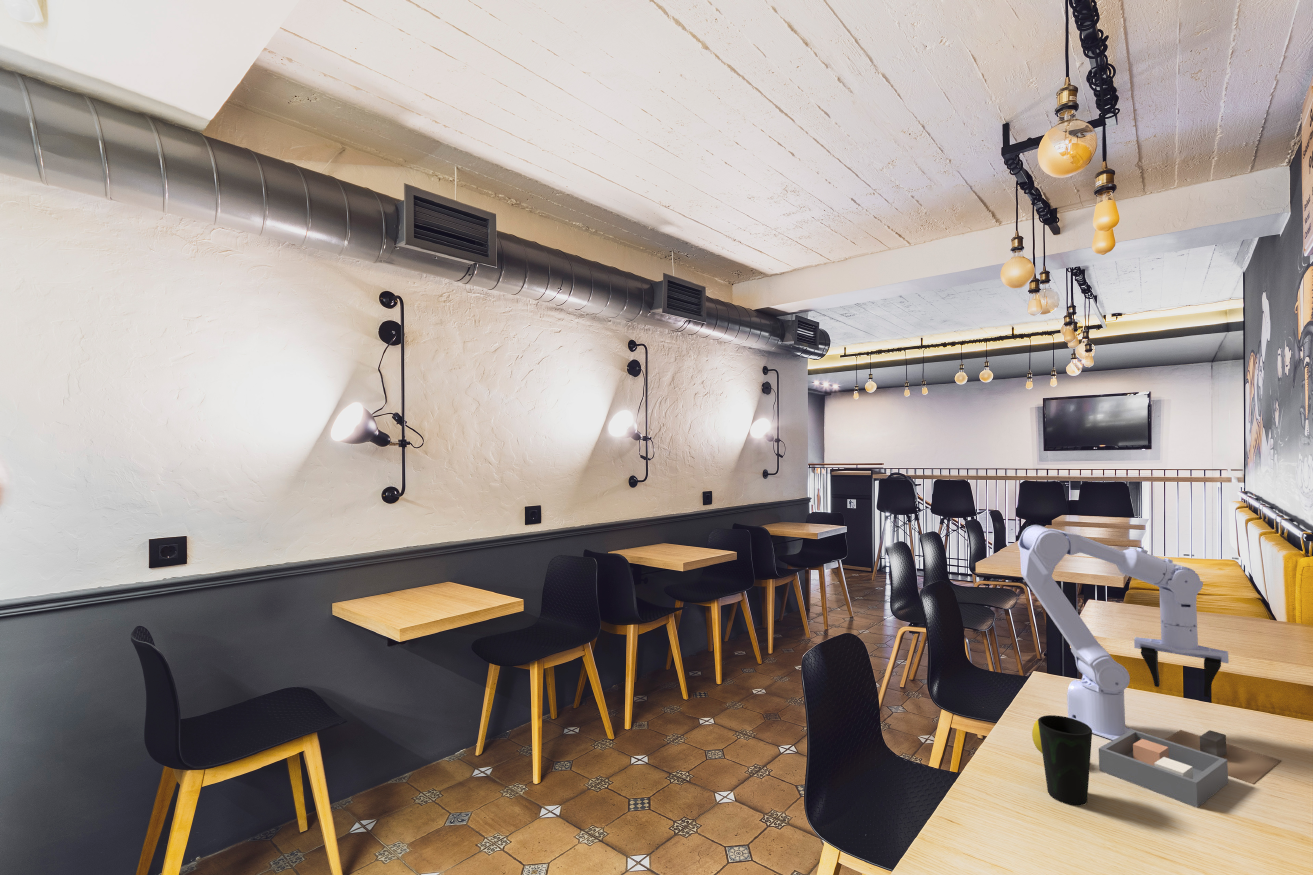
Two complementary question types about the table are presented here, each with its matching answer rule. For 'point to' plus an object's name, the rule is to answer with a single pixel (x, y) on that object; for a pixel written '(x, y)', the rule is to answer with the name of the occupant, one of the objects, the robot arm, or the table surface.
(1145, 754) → the terracotta block
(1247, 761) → the lid
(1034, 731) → the lemon
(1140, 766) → the box
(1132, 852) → the table surface
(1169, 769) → the offwhite block
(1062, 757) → the cup
